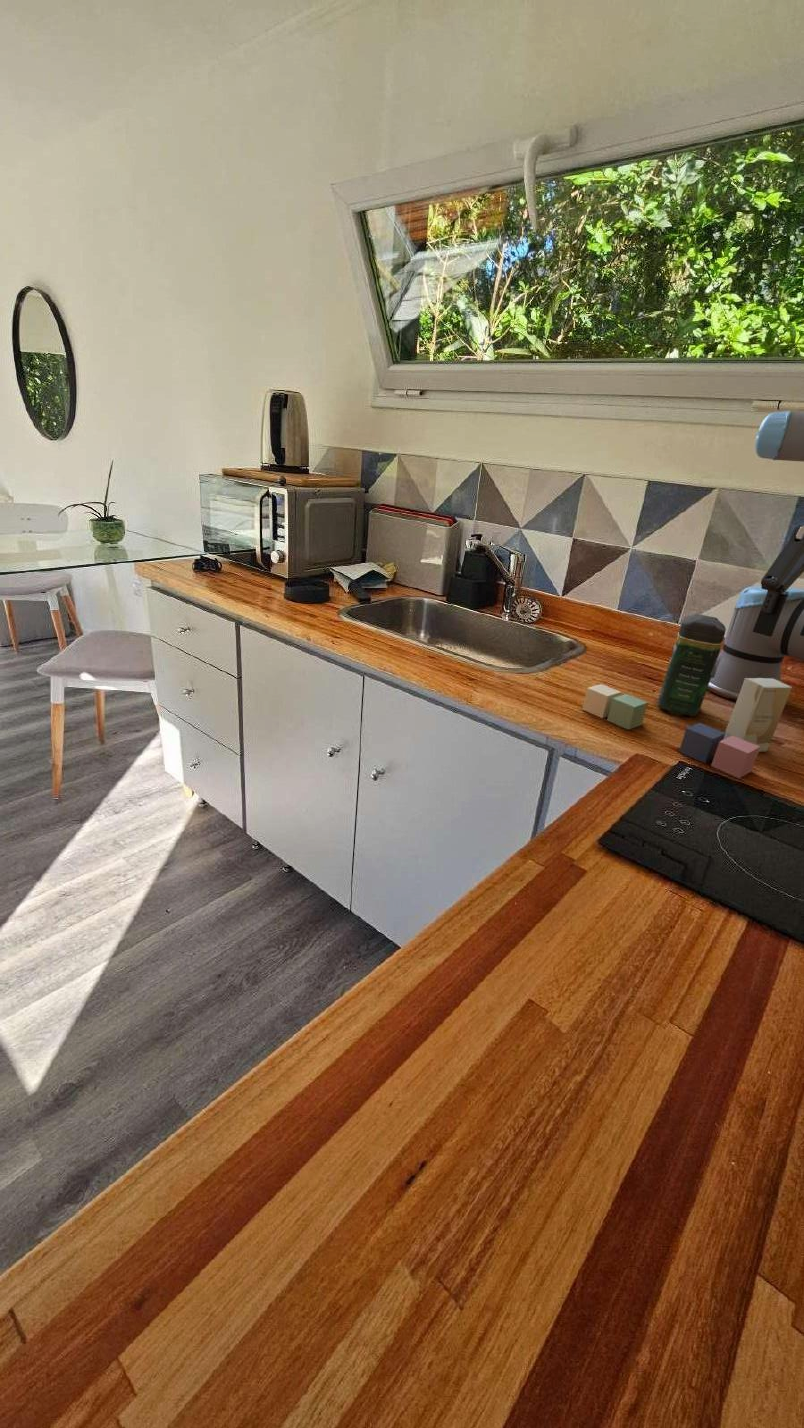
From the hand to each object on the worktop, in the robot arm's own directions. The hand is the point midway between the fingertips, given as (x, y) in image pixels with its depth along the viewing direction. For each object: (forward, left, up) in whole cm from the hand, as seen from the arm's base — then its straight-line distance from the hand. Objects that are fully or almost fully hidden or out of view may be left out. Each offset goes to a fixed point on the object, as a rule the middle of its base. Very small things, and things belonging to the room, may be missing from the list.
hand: (786, 636), depth 96 cm
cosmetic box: (0, 0, -20) cm, 20 cm away
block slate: (+11, -3, -20) cm, 23 cm away
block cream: (+11, -23, -20) cm, 32 cm away
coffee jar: (-6, -16, -20) cm, 26 cm away
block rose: (+11, +2, -20) cm, 23 cm away
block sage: (+11, -17, -20) cm, 29 cm away
